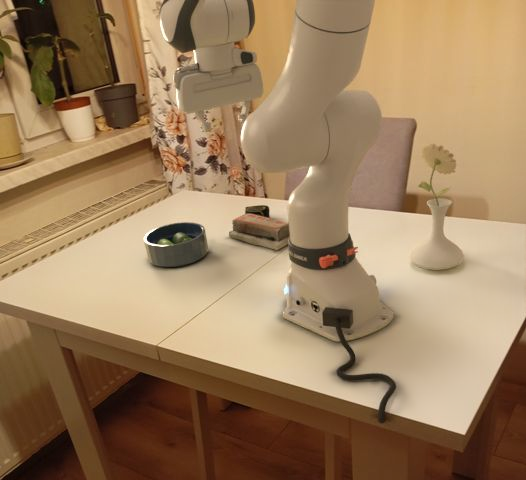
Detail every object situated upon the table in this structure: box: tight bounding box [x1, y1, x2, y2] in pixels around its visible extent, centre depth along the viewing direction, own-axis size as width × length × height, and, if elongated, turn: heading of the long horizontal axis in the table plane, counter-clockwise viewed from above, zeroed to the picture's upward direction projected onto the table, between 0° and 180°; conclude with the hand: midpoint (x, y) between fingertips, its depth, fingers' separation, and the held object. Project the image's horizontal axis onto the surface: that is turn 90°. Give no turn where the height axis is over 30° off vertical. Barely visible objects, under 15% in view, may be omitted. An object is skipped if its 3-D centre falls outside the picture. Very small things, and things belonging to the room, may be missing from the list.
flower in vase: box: [408, 143, 465, 271], centre depth 119 cm, size 13×11×25 cm
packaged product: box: [228, 213, 290, 251], centre depth 147 cm, size 18×5×10 cm
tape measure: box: [244, 204, 270, 218], centre depth 158 cm, size 7×7×4 cm
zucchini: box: [172, 232, 192, 244], centre depth 144 cm, size 10×4×4 cm, turn 30°
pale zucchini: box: [157, 239, 173, 245], centre depth 143 cm, size 9×4×4 cm
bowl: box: [143, 221, 209, 268], centre depth 143 cm, size 15×15×6 cm
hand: (225, 127), depth 130 cm, fingers open, 8 cm apart
